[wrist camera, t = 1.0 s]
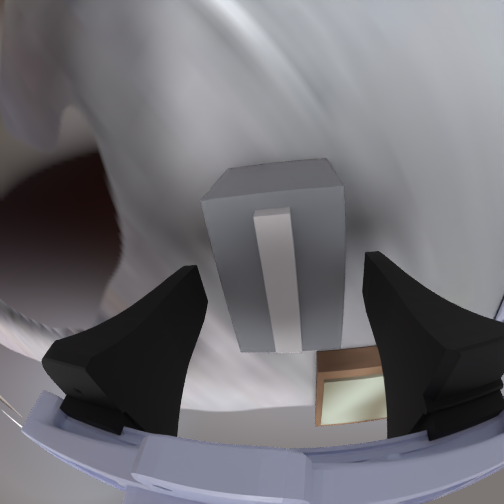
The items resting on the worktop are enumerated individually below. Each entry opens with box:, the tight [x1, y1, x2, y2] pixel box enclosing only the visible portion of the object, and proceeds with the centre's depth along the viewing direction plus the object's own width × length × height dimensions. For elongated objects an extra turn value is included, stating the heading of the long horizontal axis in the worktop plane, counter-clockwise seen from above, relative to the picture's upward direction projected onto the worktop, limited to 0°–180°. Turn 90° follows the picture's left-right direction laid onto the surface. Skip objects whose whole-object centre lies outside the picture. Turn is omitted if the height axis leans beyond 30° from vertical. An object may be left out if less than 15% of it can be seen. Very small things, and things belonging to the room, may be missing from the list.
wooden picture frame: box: [315, 346, 387, 426], centre depth 20 cm, size 13×10×2 cm
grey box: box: [200, 158, 345, 354], centre depth 13 cm, size 5×8×6 cm, turn 9°
